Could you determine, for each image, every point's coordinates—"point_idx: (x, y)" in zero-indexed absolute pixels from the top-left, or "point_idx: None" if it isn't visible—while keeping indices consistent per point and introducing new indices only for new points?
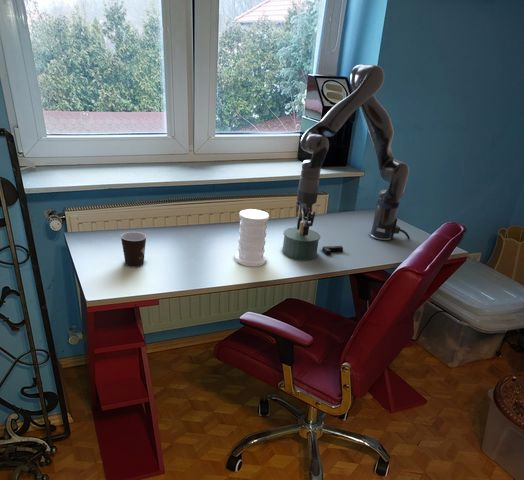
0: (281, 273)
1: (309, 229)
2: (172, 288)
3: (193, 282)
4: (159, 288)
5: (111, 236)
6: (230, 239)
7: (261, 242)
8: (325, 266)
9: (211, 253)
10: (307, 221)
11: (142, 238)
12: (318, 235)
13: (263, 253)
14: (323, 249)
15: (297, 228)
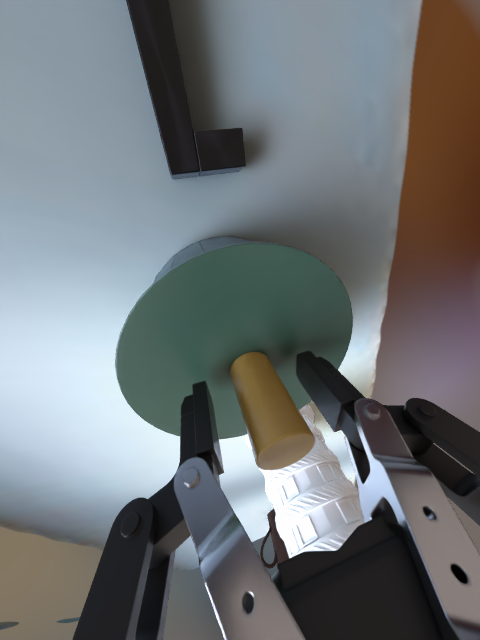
0: (355, 363)
1: (135, 315)
2: (351, 467)
3: (343, 458)
4: (346, 474)
5: (190, 555)
6: (148, 475)
7: (336, 466)
8: (353, 223)
9: (243, 473)
10: (467, 479)
11: (284, 557)
12: (271, 259)
13: (307, 424)
14: (190, 174)
15: (213, 409)
